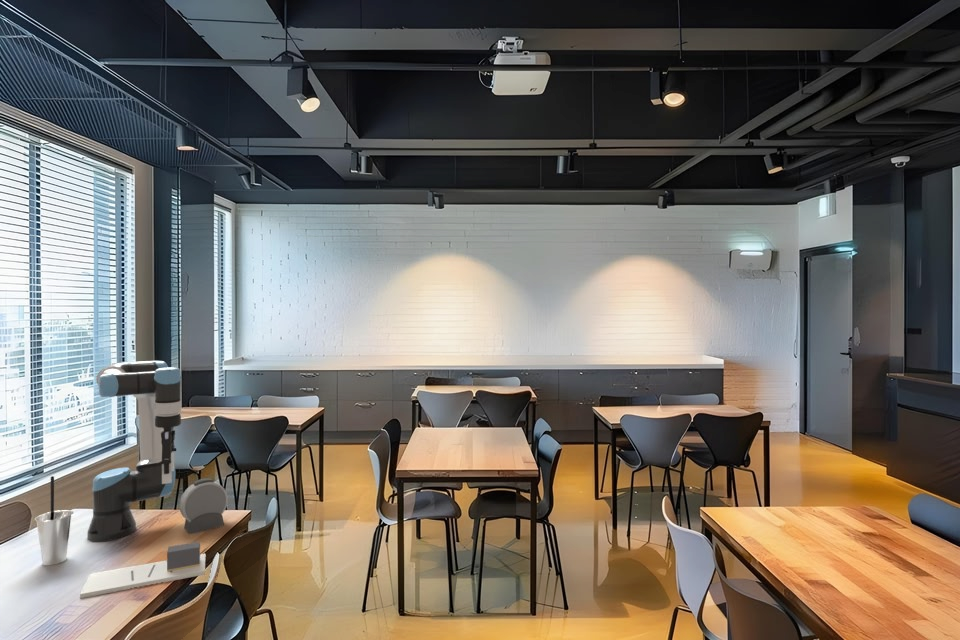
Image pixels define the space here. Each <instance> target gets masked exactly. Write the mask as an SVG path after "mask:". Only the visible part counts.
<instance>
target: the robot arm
mask: <svg viewBox="0 0 960 640" xmlns="http://www.w3.org/2000/svg"><path fill="white" fill-rule="evenodd" d="M181 374H182V373H181V368H179V367H169V366H168V364H167V362H165V361H163V360H145V361H143V360H142V361H130V362H128V361H126V362H125V361H124V362H117V363H114V364H110V365H108V366H105V367H103V368H102V369H100V371H99V372H97V376H96V383H97V386H98V393H99V396H100V397H101V398H107V397H108V398H114V397H123V396H133V397H135V398H136V399H137V401H138V402H137V403H138V404H137V405H138V406H137V407H138V427H139V428H138V429H139V430H138V431H139V433H138V434H139V454H140V459H139V462H138V463H137V464H136V465H135V467H136V468H135V470H131V469H130V468H129V467H118V468H114V469H109V470H106V471H104V472H101V473H99V474H97V475H96V476H95V477H94V478H93V480H92V481H93V482H92V488H91V491H92V517H91V521H90V523H89V526H88V530H87V534H86V535H87V540H88V541H92V542H103V541H104V542H105V541H112V540H116V539H120V538H124V537H127V536H129V535H131V534H133V533H134V532H135V531H136V530H137V522H136V520H135V517H134V515H133V512H132V510H131V503H135V502H140V501H141V502H142V501H146V500H152V499H159V498H161V497H166V496H167V497H168V496H170V495H171V494H172V492H173V490H174V486H175V484H176V465H175V452H177V448H176V447H175V438H176V437H175V435H176V429H174V427H175V428H176V427H178V426H180V425H181V424H182V414H181V412H182V399H181V397H182V396H181V393H182V392H181V391H182V390H181V389H182V388H181V387H182V386H181V385H182V375H181Z"/></svg>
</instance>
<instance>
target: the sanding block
mask: <svg viewBox="0 0 960 640" xmlns="http://www.w3.org/2000/svg"><path fill="white" fill-rule="evenodd" d="M200 554H201V542H200V540H199V541H195V542H189V543H182V544H177V545H171V546H168V547H167V552H166V560H167V572H169V571H174V570H180V569H185V568H191V567H196V566H200Z"/></svg>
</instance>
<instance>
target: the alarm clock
mask: <svg viewBox="0 0 960 640" xmlns="http://www.w3.org/2000/svg"><path fill="white" fill-rule="evenodd" d="M228 502H229V497H228V492H227V490H226V489H225V488H224V487H223V486H222V485H221V484H219V482H216V481H215V479H213V478H208V477H207V478H206V477H205V478H203V477H202V478H200V479H198V480H195V481H194V482H193V483H192V484H190V485H189V486H188V487H187V488H186V489H185V491H183V493H182V494H181V498H180V499H179V512H180V514H181V516H182V518H184V519H185V520H184V526H183V527H184V528H183V529H184V530H185V531H186V532H187V533H188V534H195V533H201V532H205V531H209V530H213V529H217V528H219V527H222V526H224V525H225V523H224V517H223V514H224V512H225V511H226V508H227V507H228Z"/></svg>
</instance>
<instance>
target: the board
mask: <svg viewBox="0 0 960 640" xmlns="http://www.w3.org/2000/svg"><path fill="white" fill-rule="evenodd" d="M206 557H207V555H206V553H200V566H196V567H191V568H185V569H180V570H174V571H169V572H167V559H166V560H160V561H156V562H151V563H144V564H139V565H138V564H137V565H132V566H127V567H119V568H116V569H110V570H104V571H98V572H92V573H90V574H89V575H88V577H87V580H86V581H85V584H84V586H83V588H82V589H81V592H80V594H79V599H83V598H89V597H94V596H99V595H106V594H109V593H115V592H121V591H126V590H131V589H130V588H132V589H135V588H134V587H137V588H140V587H139V586H142V587H144V586H143V585H147V586H151V585H150V584H153V585H157V584H156V583H158V584H161V582H163V583H168V582H173V581H178V580H183V579H188V578H189V579H190V578H193V577H199V576H203V575H204V576H205V572H206Z"/></svg>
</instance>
